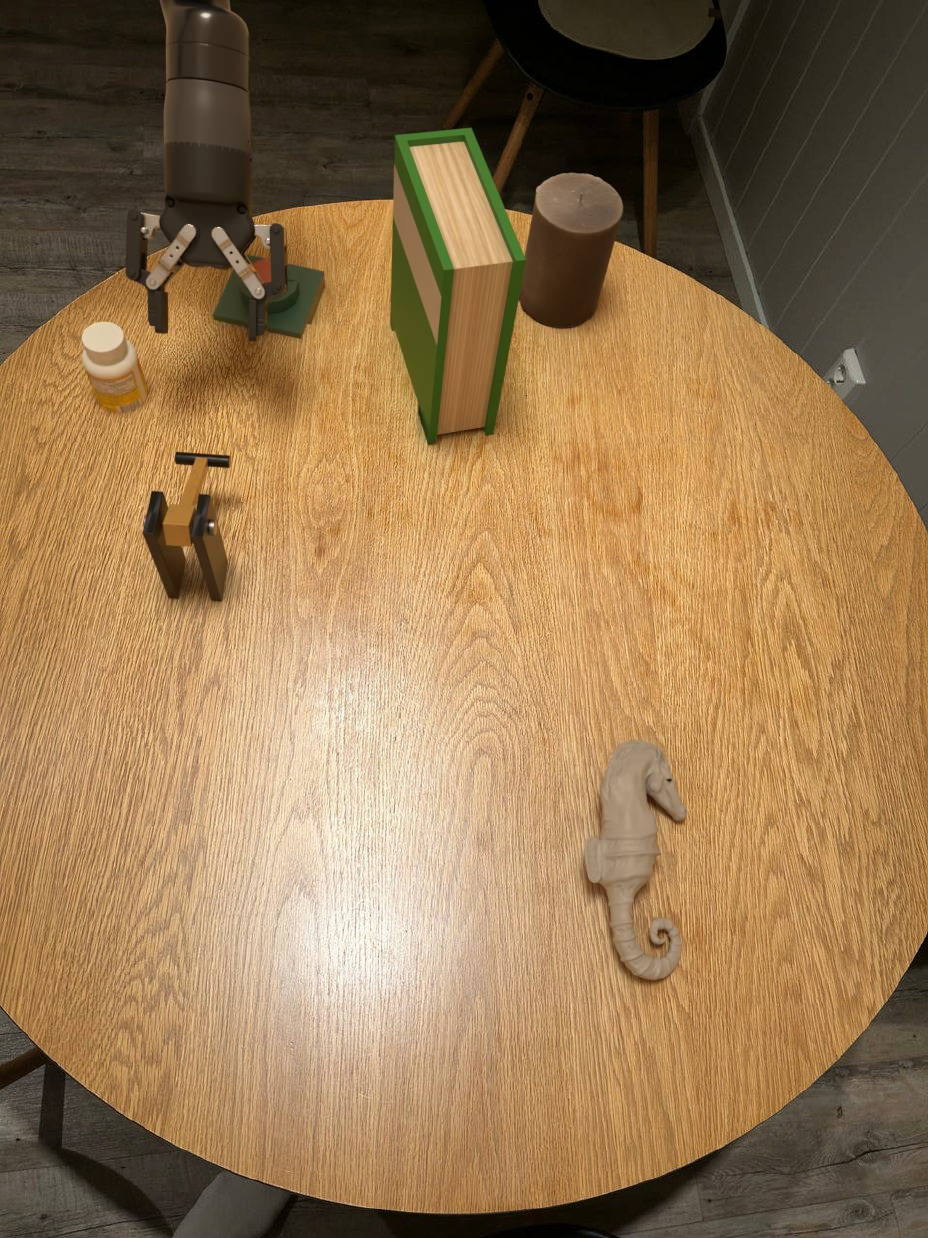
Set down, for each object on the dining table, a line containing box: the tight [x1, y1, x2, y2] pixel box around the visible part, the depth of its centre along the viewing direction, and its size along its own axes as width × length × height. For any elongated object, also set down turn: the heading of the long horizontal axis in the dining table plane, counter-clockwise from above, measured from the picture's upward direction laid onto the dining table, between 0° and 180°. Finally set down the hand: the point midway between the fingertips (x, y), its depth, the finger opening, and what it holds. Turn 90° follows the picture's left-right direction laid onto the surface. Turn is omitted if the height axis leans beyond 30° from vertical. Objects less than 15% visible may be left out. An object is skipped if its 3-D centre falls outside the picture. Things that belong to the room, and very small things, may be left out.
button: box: [253, 258, 271, 283], centre depth 104 cm, size 4×4×2 cm
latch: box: [163, 451, 232, 548], centre depth 84 cm, size 12×5×2 cm, turn 179°
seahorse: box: [583, 739, 688, 981], centre depth 81 cm, size 5×12×20 cm
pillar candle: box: [519, 172, 624, 329], centre depth 106 cm, size 10×10×15 cm
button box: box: [212, 253, 326, 339], centre depth 106 cm, size 10×10×4 cm
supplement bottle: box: [81, 321, 149, 414], centre depth 96 cm, size 5×5×10 cm
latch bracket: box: [142, 490, 229, 602], centre depth 85 cm, size 10×8×13 cm
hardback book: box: [389, 127, 526, 446], centre depth 95 cm, size 18×7×24 cm, turn 16°
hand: (208, 337), depth 88 cm, fingers open, 8 cm apart
